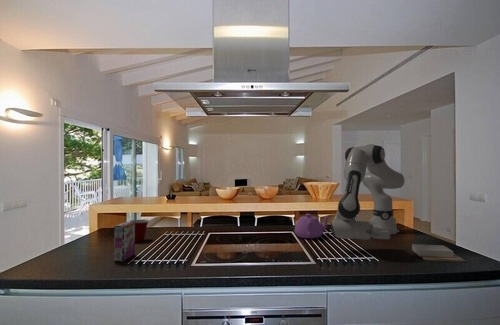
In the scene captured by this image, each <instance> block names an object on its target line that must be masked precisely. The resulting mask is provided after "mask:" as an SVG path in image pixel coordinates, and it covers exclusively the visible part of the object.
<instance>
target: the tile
mask: <svg viewBox="0 0 500 325" xmlns="http://www.w3.org/2000/svg"><path fill="white" fill-rule="evenodd" d="M411 251H412V252H414V254H416V255H417V256H418V257H420V256H422V257H441V258H454V254H455V253H454V251H453V250H452V249H450V248H449V247H447V246H445V245H442V244H441V245H438V244H437V245H436V244H416V243H412V244H411Z"/></svg>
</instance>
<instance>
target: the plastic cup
mask: <svg viewBox="0 0 500 325" xmlns="http://www.w3.org/2000/svg"><path fill="white" fill-rule="evenodd" d="M129 222H135V242H136V243H139V242H144V241H145V238H146V234H147V226H148V224H149V222H150V220H148V219H147V220H146V219H131V220H130V221H129Z"/></svg>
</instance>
